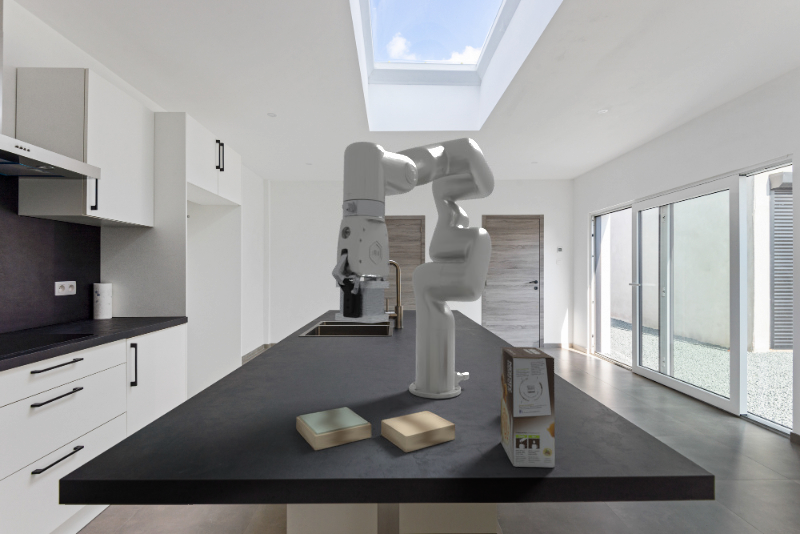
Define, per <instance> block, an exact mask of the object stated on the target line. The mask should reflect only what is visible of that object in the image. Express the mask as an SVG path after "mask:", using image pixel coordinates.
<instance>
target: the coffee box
mask: <svg viewBox="0 0 800 534" xmlns="http://www.w3.org/2000/svg"><path fill="white" fill-rule="evenodd" d="M499 351H500V352H499V354H500V355H499V356H500V359H499V361H500V364H499V365H500V368H499V369H500V371H499V372H500V373H499V374H500V378H499V379H500V443H501V445H502V447H503V449H504V451H505V453H506V455H507V457H508V459H509V461H510V463H511V465H512V466H513V467H519V468H521V467H522V468H523V467H524V468H525V467H526V468H551V469H552V468H554V467H555V465H556V464H555V461H556V459H555V458H556V457H555V456H556V455H555V454H556V452H555V451H556V446H555V444H556V443H555V442H556V439H555V438H556V435H555V432H556V431H555V430H556V429H555V428H556V426H555V423H556V422H555V418H556V417H555V415H556V411H555V400H556V399H555V396H556V395H555V357H554V356H552V355H550V354H548V353H546V352H544V351H542V350H540V349H539V348H537V347H532V346H531V347H529V346H523V347H522V346H517V347H516V346H511V347H508V346H506V347H500V349H499Z"/></svg>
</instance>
